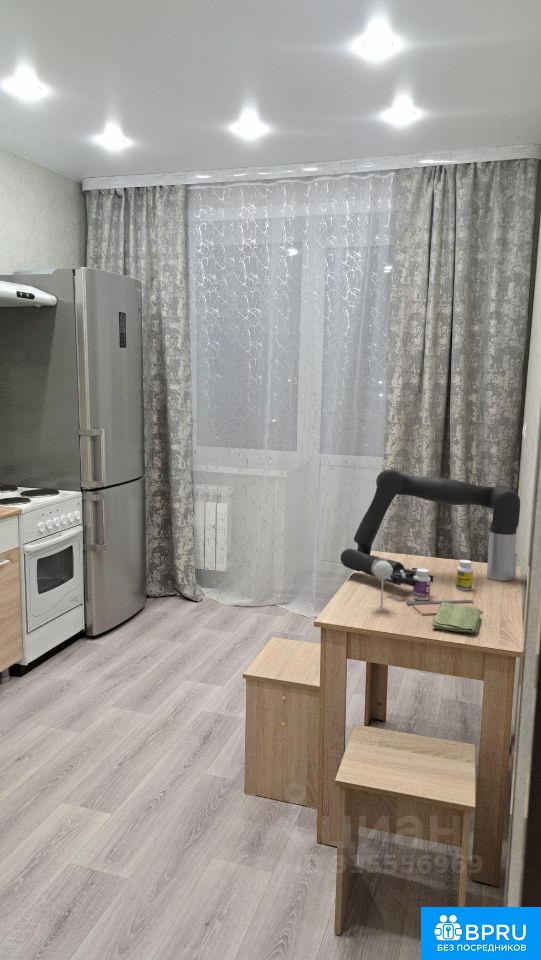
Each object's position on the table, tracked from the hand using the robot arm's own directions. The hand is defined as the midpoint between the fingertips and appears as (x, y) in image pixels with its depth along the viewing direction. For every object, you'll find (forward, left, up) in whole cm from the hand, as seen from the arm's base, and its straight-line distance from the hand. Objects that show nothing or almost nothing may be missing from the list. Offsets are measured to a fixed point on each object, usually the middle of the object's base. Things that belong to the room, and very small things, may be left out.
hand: (424, 581), depth 226 cm
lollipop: (+16, +6, -6) cm, 19 cm away
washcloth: (-2, +23, -6) cm, 24 cm away
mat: (-4, +10, -6) cm, 12 cm away
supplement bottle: (-19, -10, -6) cm, 22 cm away
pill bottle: (0, -1, -6) cm, 6 cm away
